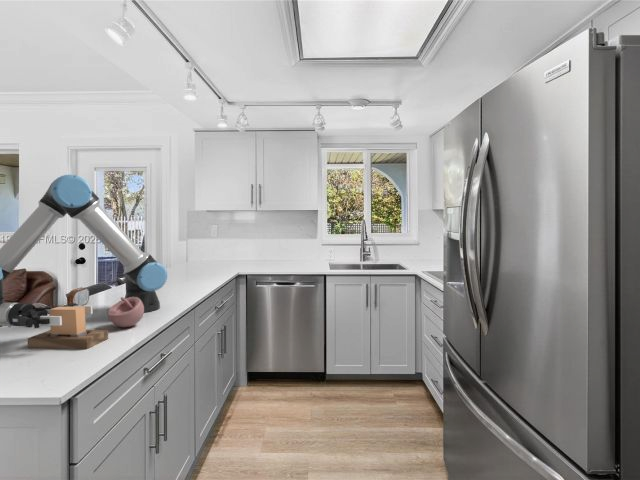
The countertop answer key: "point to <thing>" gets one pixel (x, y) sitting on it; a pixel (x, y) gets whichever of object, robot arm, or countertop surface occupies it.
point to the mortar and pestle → (126, 312)
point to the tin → (78, 296)
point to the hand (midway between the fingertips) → (77, 315)
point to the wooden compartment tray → (68, 340)
